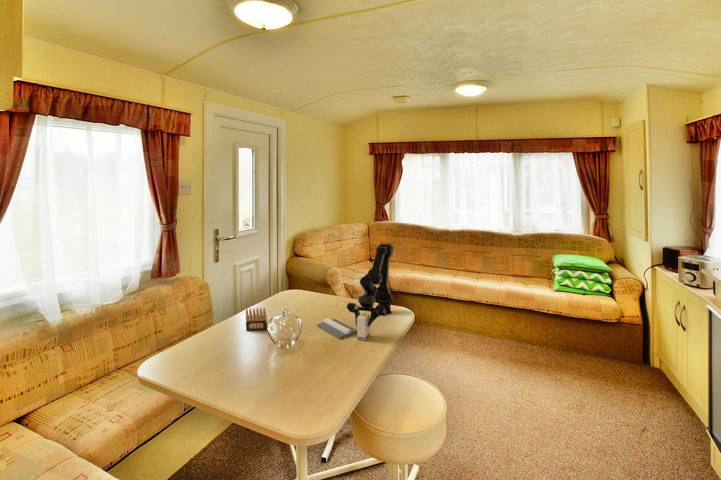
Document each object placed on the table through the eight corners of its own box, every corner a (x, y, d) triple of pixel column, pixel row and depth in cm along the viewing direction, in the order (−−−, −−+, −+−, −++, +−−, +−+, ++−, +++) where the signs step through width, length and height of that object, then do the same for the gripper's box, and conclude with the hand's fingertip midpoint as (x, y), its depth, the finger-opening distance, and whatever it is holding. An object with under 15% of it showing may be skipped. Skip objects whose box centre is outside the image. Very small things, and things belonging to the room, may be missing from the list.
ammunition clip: (268, 328, 178) (266, 306, 176) (267, 330, 176) (265, 307, 174) (247, 329, 177) (245, 307, 175) (246, 331, 175) (244, 308, 173)
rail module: (362, 334, 167) (361, 310, 165) (369, 335, 166) (369, 311, 164) (357, 340, 161) (356, 315, 159) (365, 341, 160) (364, 316, 158)
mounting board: (317, 326, 178) (316, 321, 178) (334, 320, 185) (334, 315, 184) (339, 339, 163) (339, 333, 162) (357, 332, 170) (357, 327, 169)
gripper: (347, 286, 167) (338, 316, 158) (384, 290, 160) (377, 321, 152) (353, 297, 175) (346, 326, 167) (389, 300, 168) (382, 330, 160)
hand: (362, 326), depth 161 cm, fingers open, 6 cm apart
